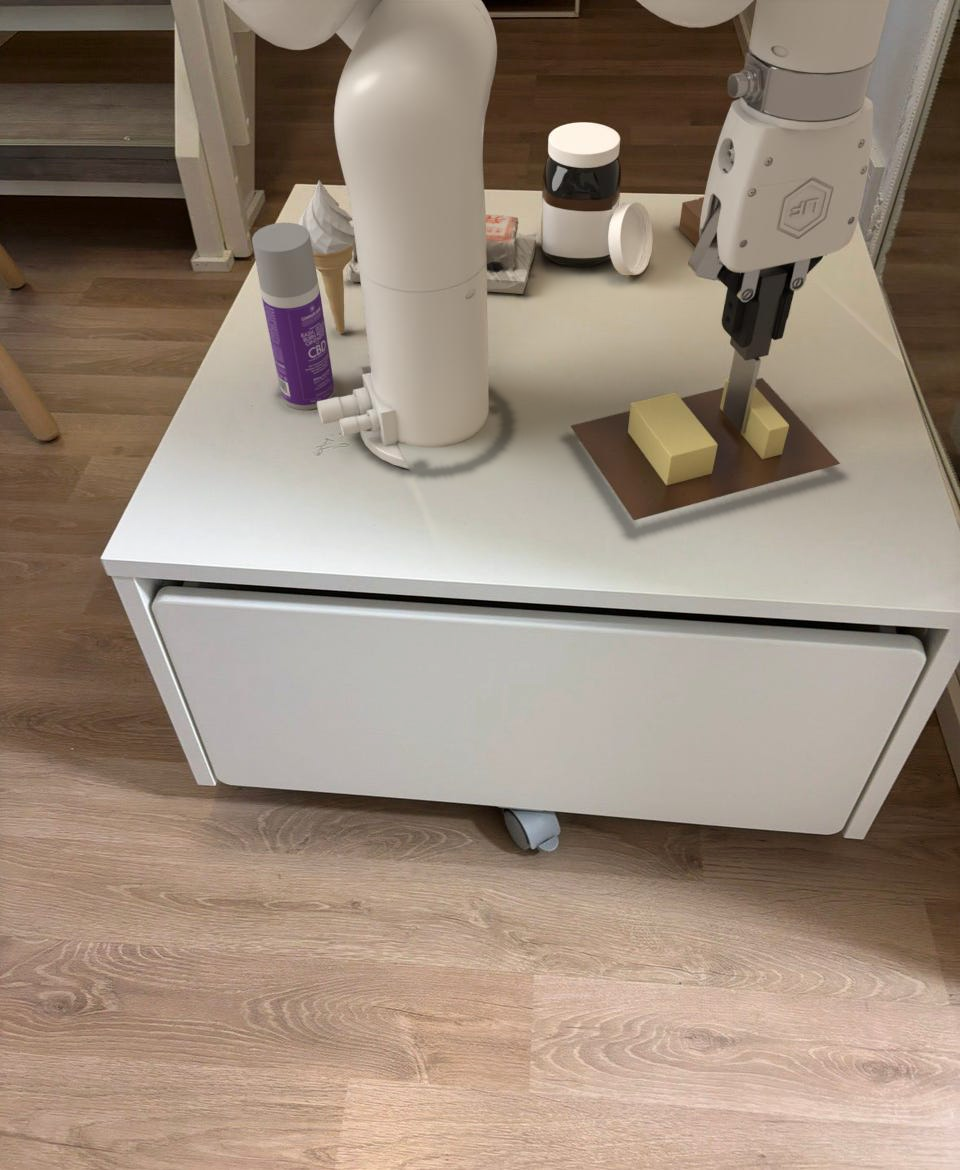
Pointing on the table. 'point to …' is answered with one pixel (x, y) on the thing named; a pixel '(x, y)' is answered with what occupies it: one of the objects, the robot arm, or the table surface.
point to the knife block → (691, 219)
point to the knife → (753, 347)
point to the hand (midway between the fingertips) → (752, 332)
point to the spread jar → (590, 203)
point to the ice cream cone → (330, 246)
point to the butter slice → (763, 426)
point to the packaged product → (495, 255)
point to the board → (731, 466)
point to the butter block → (672, 438)
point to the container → (294, 314)
